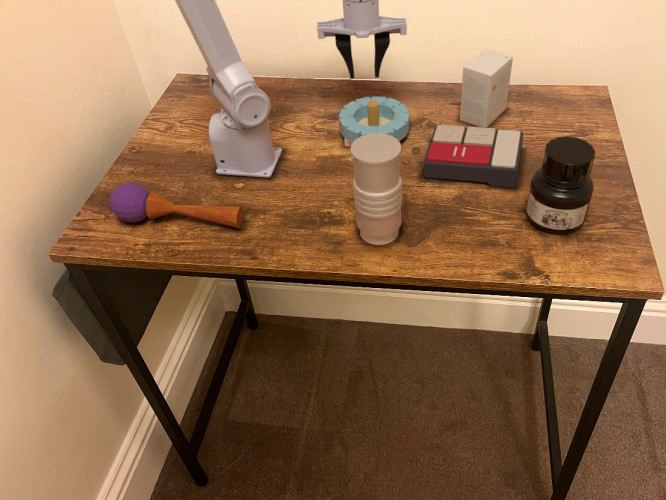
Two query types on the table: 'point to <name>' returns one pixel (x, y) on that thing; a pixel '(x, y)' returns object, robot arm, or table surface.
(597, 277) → the table surface
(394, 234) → the ribbed beige cylinder
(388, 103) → the ring
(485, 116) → the small box
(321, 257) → the table surface
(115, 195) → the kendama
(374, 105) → the peg stand
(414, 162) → the table surface
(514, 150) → the button keypad
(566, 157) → the ink bottle
